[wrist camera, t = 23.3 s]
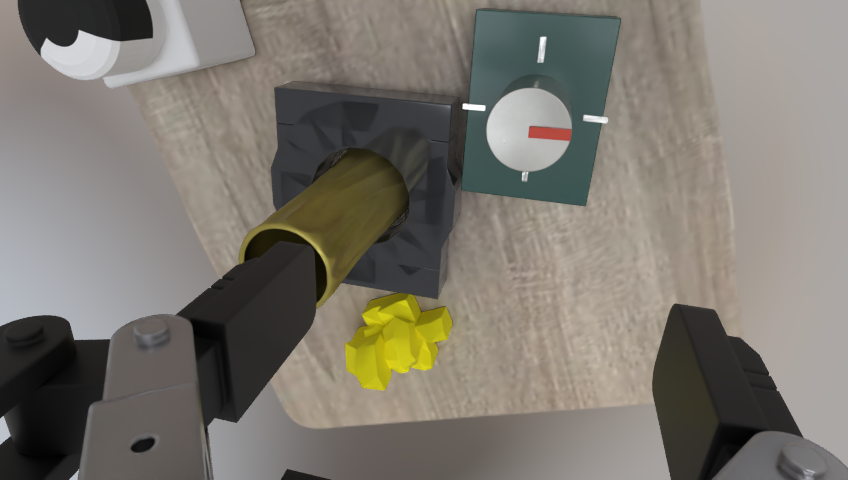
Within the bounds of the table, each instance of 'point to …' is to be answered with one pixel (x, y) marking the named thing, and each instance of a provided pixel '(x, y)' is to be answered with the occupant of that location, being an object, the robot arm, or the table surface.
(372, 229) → the vase
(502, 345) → the table surface
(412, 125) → the square flange with hole
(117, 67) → the medicine bottle
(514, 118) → the grey rotary knob
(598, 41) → the panel
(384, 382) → the yellow faceted cluster
